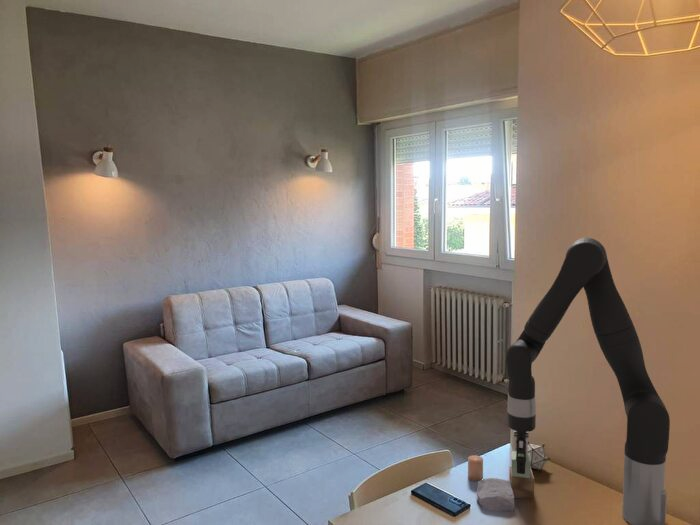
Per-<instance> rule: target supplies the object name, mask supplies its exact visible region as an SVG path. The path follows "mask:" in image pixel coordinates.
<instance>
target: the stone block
mask: <svg viewBox="0 0 700 525" xmlns="http://www.w3.org/2000/svg"><path fill="white" fill-rule="evenodd" d="M476 497H477V501H478V503H479V504H480V506H481V508H483V510H488V511H504V510H507V511H509V510H513V511H514V510H515V498H514V494H513V490H512V488H511V481H510V480H509V479H503V478H498V477H488V478H483V480H480V481H478V483H477V488H476Z"/></svg>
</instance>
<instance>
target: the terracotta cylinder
mask: <svg viewBox="0 0 700 525" xmlns="http://www.w3.org/2000/svg"><path fill="white" fill-rule="evenodd" d="M467 478H468V480H469V481H471V480H472V482H475V481H478V482H479V481H480V480H482V479H484V459H483V457H481V456H480V455H474V454H473V455H469V456H468V457H467Z"/></svg>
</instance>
